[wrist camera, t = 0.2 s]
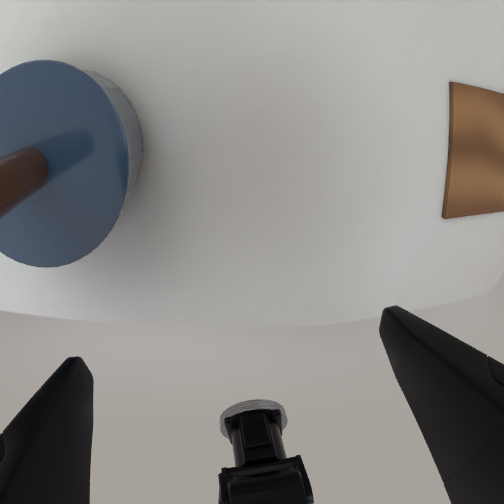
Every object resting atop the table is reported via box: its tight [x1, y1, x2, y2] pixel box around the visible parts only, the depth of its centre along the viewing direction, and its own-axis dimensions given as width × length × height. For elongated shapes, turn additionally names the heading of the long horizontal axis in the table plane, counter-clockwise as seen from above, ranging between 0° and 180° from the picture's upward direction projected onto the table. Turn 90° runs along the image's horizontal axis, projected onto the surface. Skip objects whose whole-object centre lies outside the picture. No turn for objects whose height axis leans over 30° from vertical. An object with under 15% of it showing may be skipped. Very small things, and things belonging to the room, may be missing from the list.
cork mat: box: [442, 82, 504, 219], centre depth 22 cm, size 12×10×1 cm
